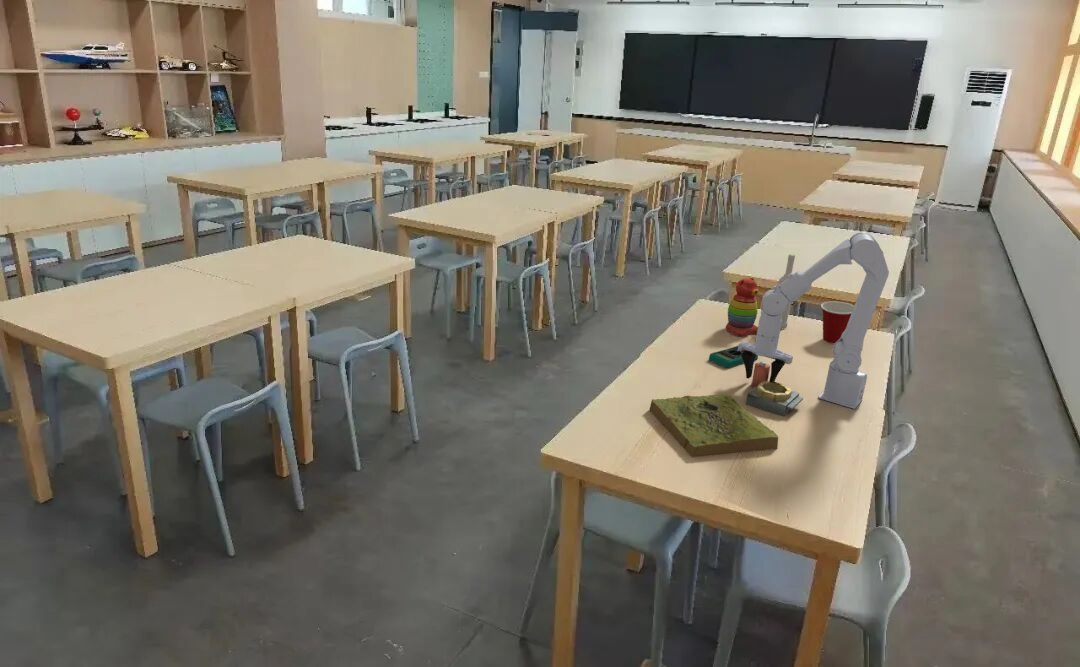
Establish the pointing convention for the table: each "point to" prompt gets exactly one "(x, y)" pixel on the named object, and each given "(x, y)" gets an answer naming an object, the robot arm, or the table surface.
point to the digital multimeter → (728, 357)
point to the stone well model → (773, 398)
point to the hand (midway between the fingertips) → (759, 380)
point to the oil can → (760, 373)
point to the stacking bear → (743, 309)
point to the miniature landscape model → (712, 425)
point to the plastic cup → (835, 319)
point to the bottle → (783, 278)
